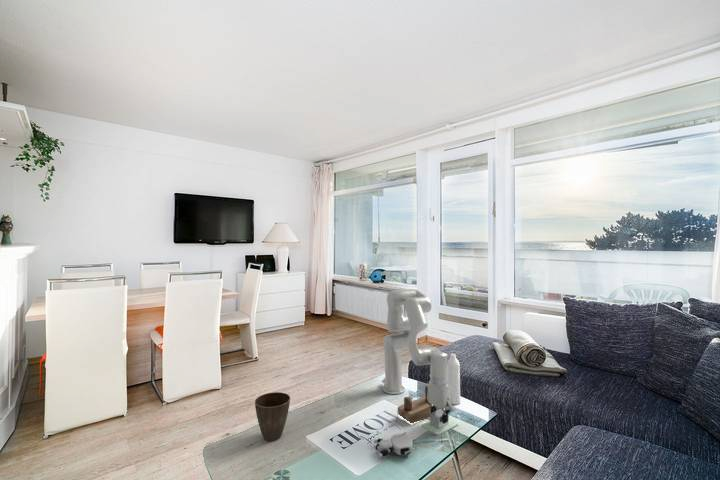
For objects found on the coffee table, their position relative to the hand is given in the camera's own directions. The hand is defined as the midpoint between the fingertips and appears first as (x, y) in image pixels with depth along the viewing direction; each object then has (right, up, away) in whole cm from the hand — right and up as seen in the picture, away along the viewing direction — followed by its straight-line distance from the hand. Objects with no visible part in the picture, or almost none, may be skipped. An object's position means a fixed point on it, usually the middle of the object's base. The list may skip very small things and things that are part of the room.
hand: (439, 419), depth 155 cm
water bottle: (+12, -4, +24) cm, 27 cm away
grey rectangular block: (0, -2, 0) cm, 2 cm away
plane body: (-7, -3, +10) cm, 13 cm away
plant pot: (-74, -4, -8) cm, 74 cm away
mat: (0, -3, 0) cm, 3 cm away
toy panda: (-23, -3, -19) cm, 30 cm away
